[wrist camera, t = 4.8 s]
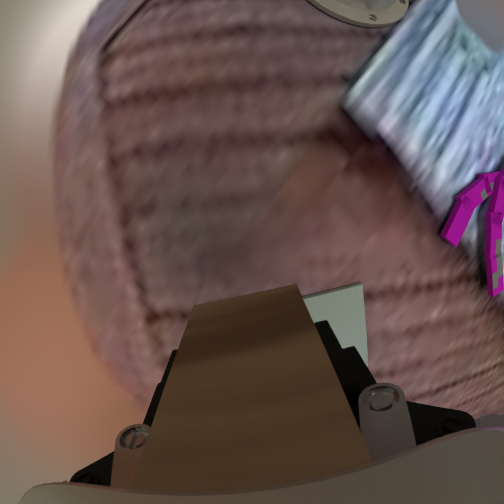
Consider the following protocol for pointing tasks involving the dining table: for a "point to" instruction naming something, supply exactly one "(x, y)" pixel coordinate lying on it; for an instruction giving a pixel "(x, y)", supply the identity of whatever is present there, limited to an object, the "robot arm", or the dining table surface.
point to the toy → (500, 207)
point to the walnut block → (250, 401)
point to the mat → (342, 315)
